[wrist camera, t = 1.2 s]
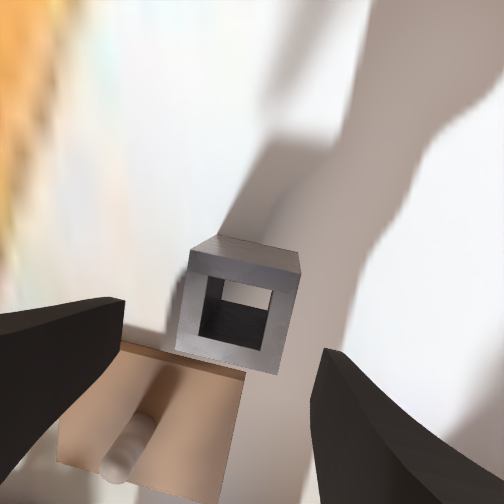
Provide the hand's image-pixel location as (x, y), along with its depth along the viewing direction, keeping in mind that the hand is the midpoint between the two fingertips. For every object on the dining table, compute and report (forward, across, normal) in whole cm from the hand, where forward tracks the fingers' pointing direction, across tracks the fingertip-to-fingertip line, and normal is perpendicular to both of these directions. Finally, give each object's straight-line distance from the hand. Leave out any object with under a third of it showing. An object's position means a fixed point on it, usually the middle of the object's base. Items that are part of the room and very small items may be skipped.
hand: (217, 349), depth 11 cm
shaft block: (+8, +5, +11) cm, 15 cm away
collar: (+8, 0, 0) cm, 8 cm away
